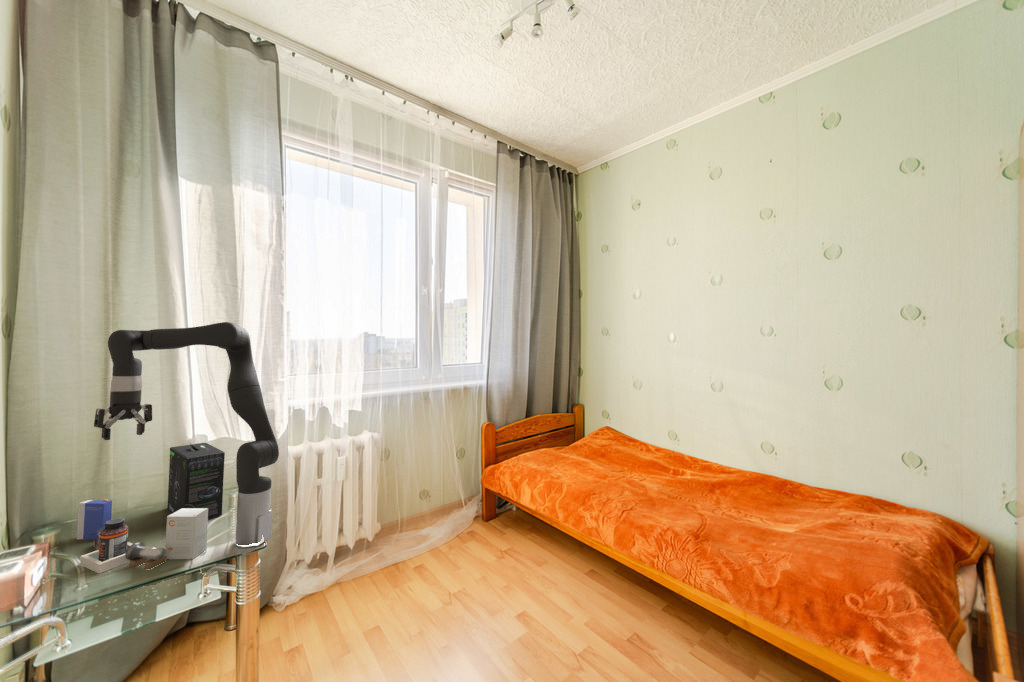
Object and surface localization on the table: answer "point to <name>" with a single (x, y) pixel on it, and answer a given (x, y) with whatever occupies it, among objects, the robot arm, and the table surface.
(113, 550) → the supplement bottle
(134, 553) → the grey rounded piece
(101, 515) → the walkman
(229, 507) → the table surface
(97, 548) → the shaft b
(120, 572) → the table surface
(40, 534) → the table surface
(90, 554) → the shallow white dish
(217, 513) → the headset box
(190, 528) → the small box
